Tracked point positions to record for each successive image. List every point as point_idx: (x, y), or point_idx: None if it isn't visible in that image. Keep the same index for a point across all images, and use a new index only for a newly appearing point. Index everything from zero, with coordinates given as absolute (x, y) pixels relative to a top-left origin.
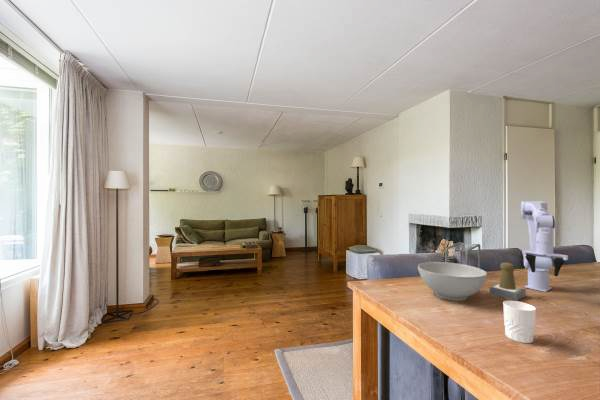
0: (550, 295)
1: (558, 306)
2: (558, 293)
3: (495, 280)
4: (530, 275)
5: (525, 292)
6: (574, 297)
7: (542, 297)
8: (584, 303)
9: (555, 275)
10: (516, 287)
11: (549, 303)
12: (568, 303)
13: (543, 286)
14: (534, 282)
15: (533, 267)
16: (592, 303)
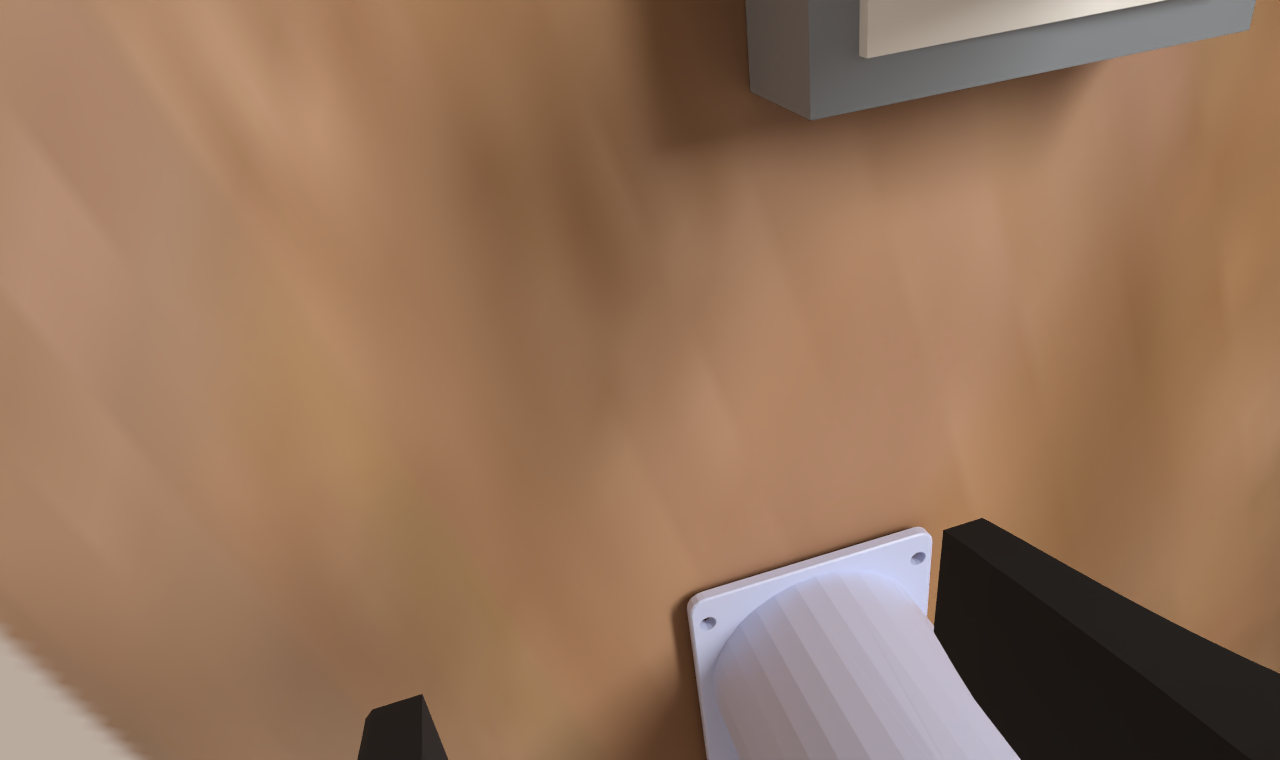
0: (579, 529)
1: (125, 22)
2: (579, 699)
3: (1245, 457)
4: (979, 720)
5: (779, 97)
6: None
7: (579, 314)
8: (159, 632)
9: (391, 718)
10: (958, 13)
11: (319, 57)
12: (221, 407)
13: (749, 672)
14: (864, 643)
15: (1053, 662)
16: (132, 727)
